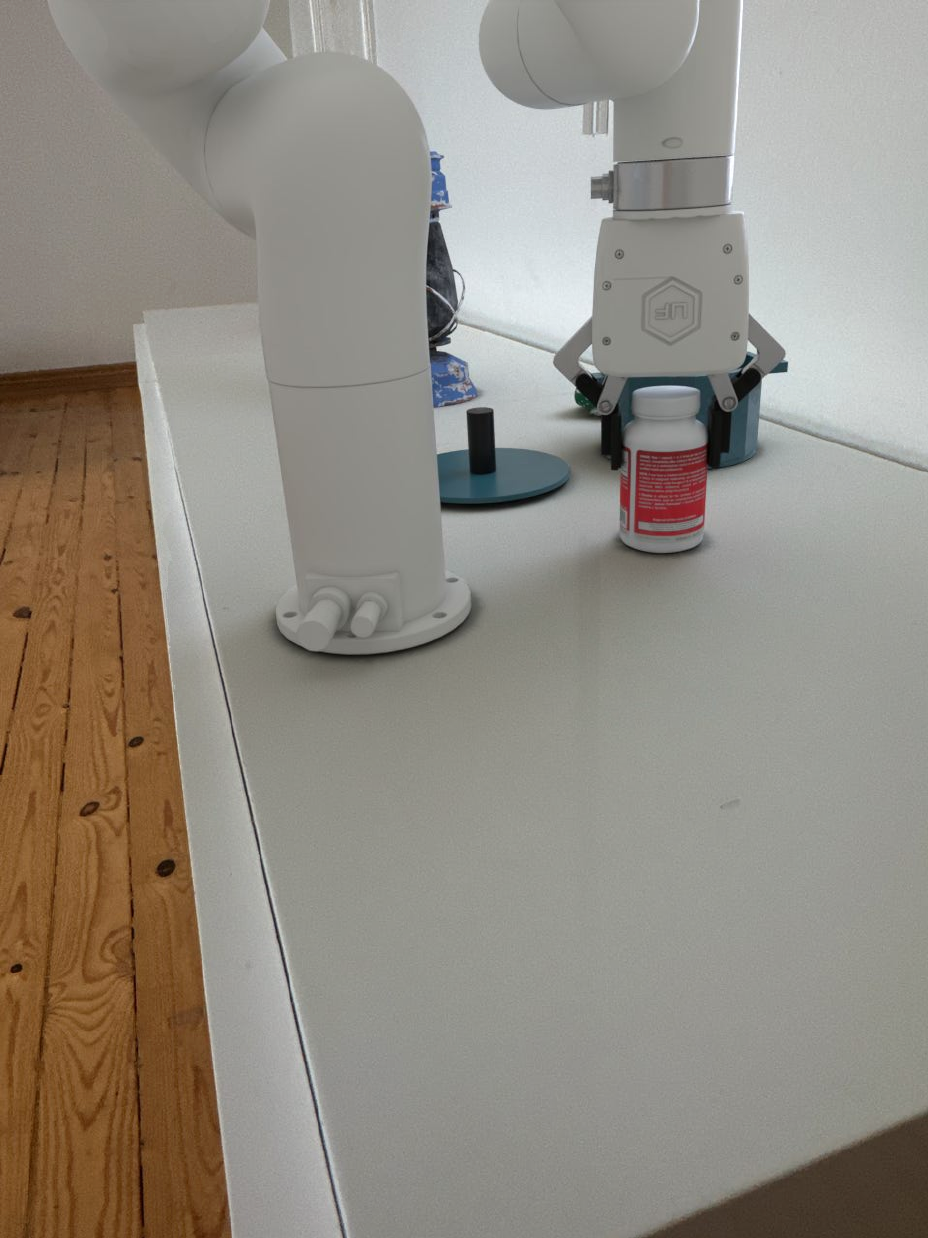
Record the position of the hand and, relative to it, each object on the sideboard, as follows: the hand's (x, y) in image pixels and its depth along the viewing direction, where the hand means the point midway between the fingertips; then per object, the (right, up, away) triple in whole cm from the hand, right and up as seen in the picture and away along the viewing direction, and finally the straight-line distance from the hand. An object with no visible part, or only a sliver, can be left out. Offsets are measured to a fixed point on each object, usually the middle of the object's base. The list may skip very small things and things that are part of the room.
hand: (663, 461), depth 69 cm
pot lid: (-13, +2, +18) cm, 22 cm away
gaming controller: (+2, +11, +39) cm, 41 cm away
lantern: (-19, +17, +53) cm, 58 cm away
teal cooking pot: (+6, +5, +24) cm, 26 cm away
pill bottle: (0, -6, +3) cm, 6 cm away
